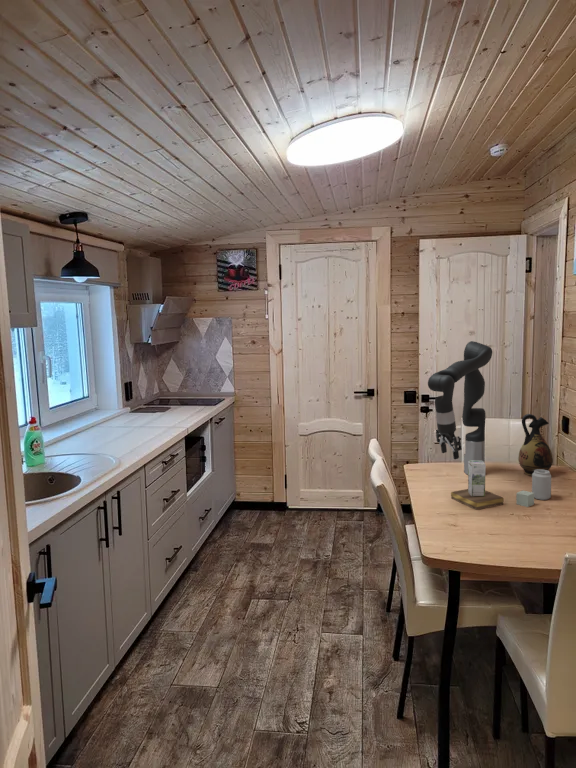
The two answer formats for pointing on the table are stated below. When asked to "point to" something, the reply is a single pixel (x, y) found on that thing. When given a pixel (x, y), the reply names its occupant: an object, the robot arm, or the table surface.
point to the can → (541, 484)
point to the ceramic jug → (534, 447)
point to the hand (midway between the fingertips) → (450, 455)
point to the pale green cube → (525, 498)
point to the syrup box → (476, 478)
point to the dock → (477, 499)
